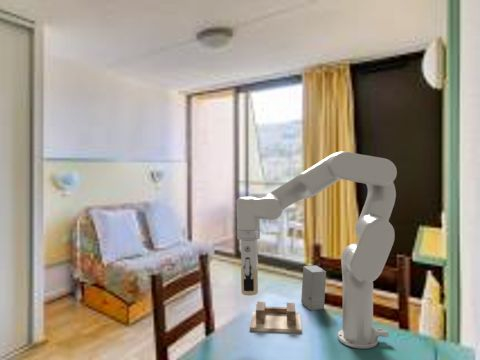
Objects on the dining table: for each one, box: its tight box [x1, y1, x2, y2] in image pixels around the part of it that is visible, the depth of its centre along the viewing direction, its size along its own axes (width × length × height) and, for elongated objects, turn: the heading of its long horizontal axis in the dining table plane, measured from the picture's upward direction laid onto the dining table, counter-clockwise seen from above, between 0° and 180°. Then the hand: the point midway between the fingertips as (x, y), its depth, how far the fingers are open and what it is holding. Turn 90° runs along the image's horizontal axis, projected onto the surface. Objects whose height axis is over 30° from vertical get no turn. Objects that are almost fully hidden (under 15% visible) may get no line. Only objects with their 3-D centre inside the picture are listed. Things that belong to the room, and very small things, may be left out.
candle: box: [240, 266, 259, 297], centre depth 121 cm, size 6×6×10 cm
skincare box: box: [300, 264, 327, 311], centre depth 147 cm, size 8×7×16 cm
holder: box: [249, 301, 303, 334], centre depth 132 cm, size 18×14×6 cm
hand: (249, 286), depth 121 cm, fingers closed on candle, 5 cm apart
